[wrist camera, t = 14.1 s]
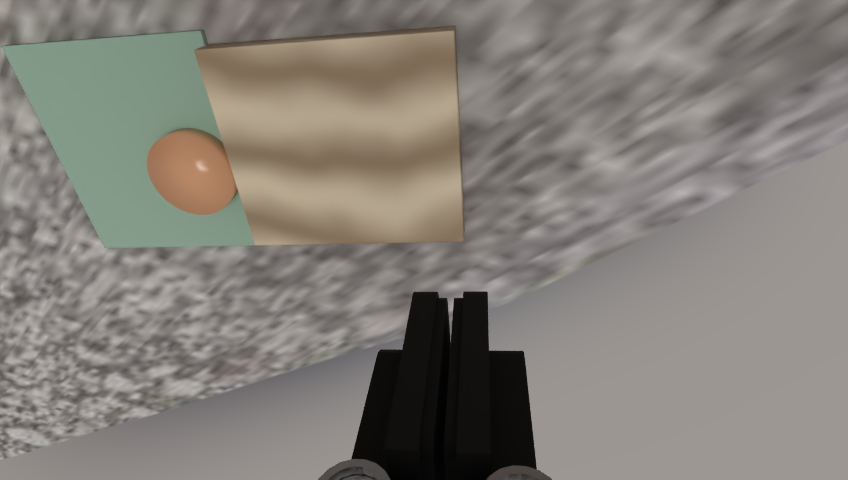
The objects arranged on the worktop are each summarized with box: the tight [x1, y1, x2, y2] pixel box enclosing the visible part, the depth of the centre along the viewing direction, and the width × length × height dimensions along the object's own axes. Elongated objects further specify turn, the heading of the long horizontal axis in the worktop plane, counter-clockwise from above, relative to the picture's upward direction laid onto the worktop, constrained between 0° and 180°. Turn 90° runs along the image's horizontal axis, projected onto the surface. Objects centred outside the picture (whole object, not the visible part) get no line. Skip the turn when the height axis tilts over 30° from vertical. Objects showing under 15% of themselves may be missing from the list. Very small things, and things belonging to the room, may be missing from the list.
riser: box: [194, 26, 464, 245], centre depth 37 cm, size 16×18×2 cm
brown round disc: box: [147, 128, 238, 215], centre depth 39 cm, size 7×7×2 cm
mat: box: [2, 30, 255, 248], centre depth 40 cm, size 18×16×1 cm
